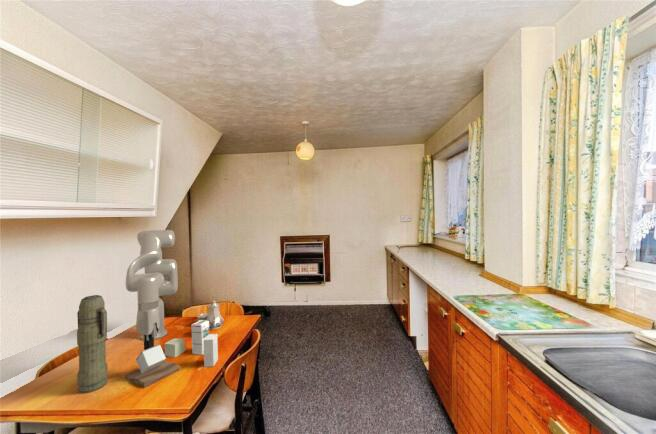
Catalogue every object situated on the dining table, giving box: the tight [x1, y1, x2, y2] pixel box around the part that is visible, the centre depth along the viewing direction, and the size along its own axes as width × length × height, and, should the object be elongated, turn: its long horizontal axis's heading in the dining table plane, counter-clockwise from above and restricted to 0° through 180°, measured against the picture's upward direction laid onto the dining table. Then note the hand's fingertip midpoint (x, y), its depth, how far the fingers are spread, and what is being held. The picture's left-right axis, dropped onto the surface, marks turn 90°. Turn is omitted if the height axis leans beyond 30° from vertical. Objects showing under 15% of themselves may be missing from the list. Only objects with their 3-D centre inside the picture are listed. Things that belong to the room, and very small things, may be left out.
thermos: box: [76, 294, 109, 394], centre depth 107 cm, size 9×12×35 cm
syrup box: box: [191, 320, 210, 356], centre depth 134 cm, size 6×6×14 cm
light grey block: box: [135, 343, 167, 374], centre depth 115 cm, size 7×7×7 cm
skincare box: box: [203, 333, 219, 368], centre depth 122 cm, size 6×4×12 cm
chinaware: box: [196, 299, 225, 331], centre depth 164 cm, size 28×17×17 cm, turn 23°
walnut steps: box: [124, 360, 180, 389], centre depth 115 cm, size 14×14×2 cm
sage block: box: [164, 337, 186, 358], centre depth 132 cm, size 6×6×6 cm
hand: (148, 348), depth 116 cm, fingers closed
